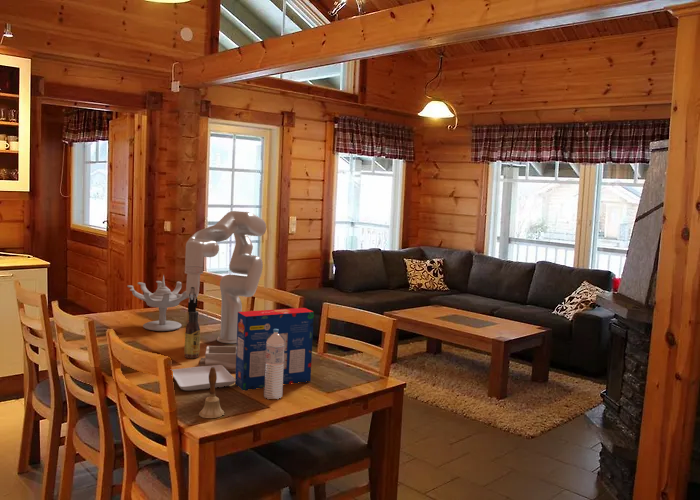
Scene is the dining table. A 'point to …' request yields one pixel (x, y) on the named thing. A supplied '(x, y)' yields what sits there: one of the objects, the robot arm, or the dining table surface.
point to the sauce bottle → (192, 336)
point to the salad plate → (201, 377)
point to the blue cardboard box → (252, 345)
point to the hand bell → (212, 399)
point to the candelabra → (161, 304)
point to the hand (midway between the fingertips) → (192, 309)
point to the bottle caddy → (220, 357)
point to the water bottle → (274, 366)
